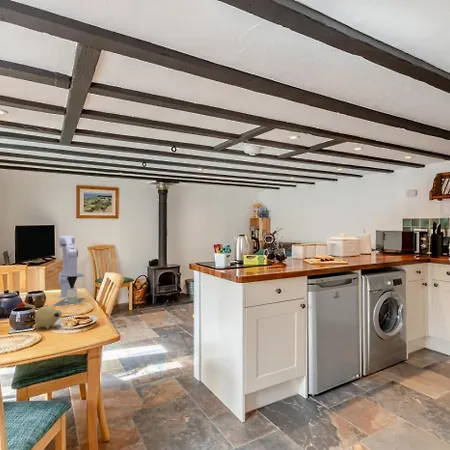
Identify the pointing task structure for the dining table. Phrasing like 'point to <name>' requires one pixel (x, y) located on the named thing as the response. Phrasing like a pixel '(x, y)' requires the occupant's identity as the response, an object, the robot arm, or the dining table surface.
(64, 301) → the mat
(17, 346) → the dining table surface
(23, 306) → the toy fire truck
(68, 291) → the top block
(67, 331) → the dining table surface
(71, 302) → the base block
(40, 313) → the toy pig
